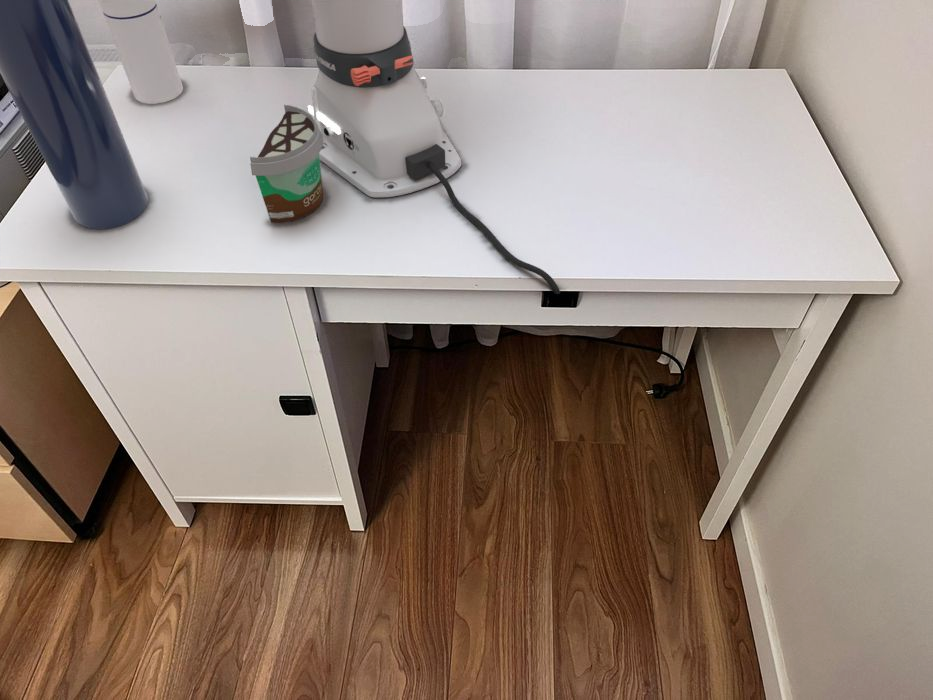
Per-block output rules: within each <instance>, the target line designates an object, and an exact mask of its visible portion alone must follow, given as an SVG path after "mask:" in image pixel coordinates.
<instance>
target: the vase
mask: <svg viewBox="0 0 933 700" xmlns="http://www.w3.org/2000/svg"><path fill="white" fill-rule="evenodd" d="M0 76H1V78H2V80H3V82H4V83H5V85H6V87H7V90H8V91H9V93H10V95H11V97H12V99H13V102H14V103H15V105H16V107H17V110H18V111H19V113H20V115H21V118H22V119H23V121H24V123H25V125H26V126H27V129H28V131H29V133H30V135H31V136H32V138H33V141H34V142H35V145H36V147H37V148H38V151H39V152H40V155H41V156H42V158H43V160H44V162H45V164H46V166H47V168H48V170H49V172H50V174H51V176H52V178H53V179H54V182H55V183H56V186H57V188H58V190H59V192H60V193H61V195H62V197H63V199H64V202H65V203H66V206H67V207H68V209H69V211H70V214H71V216H72V217H73V220H75V222H76V223H77V224H78V225H80V226H82V227H84V228H87V229H91V230H92V229H93V230H107V229H108V230H109V229H114V228H117V227H121V226H123V225H125V224H128V223H130V222H132V221H134V220H135V219H137V218H138V217H139V216H140V215H141V214H143V212H145V210H146V208H147V206H148V203H149V197H148V194H147V191H146V189H145V187H144V184H143V181H142V179H141V177H140V175H139V172H138V169H137V167H136V164H135V162H134V159H133V156H132V154H131V152H130V150H129V147H128V145H127V141H126V139H125V137H124V134H123V132H122V130H121V127H120V124H119V122H118V120H117V118H116V115H115V112H114V110H113V108H112V104H111V103H110V99H109V98H108V97H109V96H108V95H107V93H106V90H105V87H104V84H103V83H102V80H101V78H100V74H99V72H98V71H97V67H96V66H95V62H94V60H93V58H92V55H91V52H90V50H89V48H88V45H87V43H86V41H85V38H84V36H83V33H82V31H81V28H80V26H79V23H78V21H77V18H76V16H75V13H74V11H73V8H72V6H71V3H70V1H69V0H0Z"/></svg>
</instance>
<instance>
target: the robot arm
mask: <svg viewBox="0 0 933 700" xmlns="http://www.w3.org/2000/svg"><path fill="white" fill-rule="evenodd" d="M310 5H311V11H312V17H313V23H314V30H315V32H314V35H313V52H314V56H315V60H316V65H317V67H318V69H319V70H318V74H317V77H316V80H315V82H314V84H313V85H312V88H311V91H310V92H311V93H310V94H311V102H312V106H311V105H307V108H308V113H309V114H310V115H311V116H313V119H314V120H315V121H316V123H317V125H318V127H319V129H320V132H321V134H322V136H323V146H322V149H321V151H320V152H319V158H320V162H322V163H323V164H325V165H326V166H327V167H328V168H330V169H331V170H333V171H334V172H335V173H336V174H338V175H339V176H340V177H342V178H343V179H344V180H346V181H347V182H348V183H350V184H351V185H353V186H354V187H355V188H357V189H358V190H359V191H360V192H362V193H363V194H365V195H366V196H368V197H370V198H392V197H397V196H403V195H408V194H411V193H415V192H418V191H421V190H424V189H426V188H428V187H429V188H430V187H431V186H433V185H436V184H439V183H441V184H442V186H443V187H444V189H445V191H446V194H447V195H448V197H449V200H450V201H451V204H453V206H454V207H455V208H456V209H457V210H458V211H459V212H460V214H461V215H463V216H464V217H465V218H466V219H468V220H469V221H470V222H471V223H473V224H474V225H475V226H476V227H477V228H478V229H479V230H480V231H481V232H482V233H483V234H484V235H485V236H486V237H487V238H488V240H489V241H490V242H491V243H492V245H493V246H494V247H495V249H497V251H498V252H499V253H500V254H502V256H503V257H505V258H506V259H507V260H508V261H509V262H511V263H512V264H514V265H515V266H517V267H519V268H521V269H523V270H525V271H528V272H531V273H533V274H536V275H538V276H539V277H541V278H542V279H543V280H544V281H545V282H546V283H547V284H548V286H549V287H550V288H551V290H552V293H554V294H555V295H560V294H561V289H560V288H559V285H558V284H557V283H556V281H555V280H554V279H553V277H552V276H551V275H550V274H549V273H547V272H546V270H543V269H542V268H540V267H538V266H535V265H533V264H531V263H528V262H525V261H523V260H521V259H519V258H518V257H516V256H515V255H513V254H512V253H511V252H510V251H509V250H508V249H506V247H505V246H504V245H503V244H502V243H501V242H500V240H498V238H497V237H496V236H495V234H494V233H493V232H492V231H491V229H489V227H487V226H486V225H485V224H484V223H483V222H482V221H481V220H480V219H479V218H477V217H476V216H475V215H474V214H473V213H471V212H470V211H469V210H468V209H466V208H465V207H464V205H462V203H461V202H460V201H459V199H458V198H457V196H456V194H455V192H454V190H453V188H452V186H451V184H450V183H449V181H448V180H447V179H448V178H450V177H452V176H453V175H454V174H455V173H456V172H457V171H458V170H459V169H460V168H461V167H462V160H461V157H460V155H459V154H458V152H457V149H456V148H455V147H454V145H453V143H452V142H451V140H450V139H449V137H448V135H447V134H446V132H445V131H444V129H443V127H442V126H441V121H440V117H442V116H443V115H444V107H443V103H442V101H441V99H439V98H433V99H430V96H429V94H428V93H427V90H426V89H427V87H428V84H427V80H426V77H424V76H422V77H421V78H420V75H419V74H418V72H417V70H416V68H415V66H414V56H413V53H412V45H411V41H410V38H409V35H408V32H407V29H406V27H405V25H404V11H403V10H404V9H403V8H404V5H403V0H310Z"/></svg>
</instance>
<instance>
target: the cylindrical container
mask: <svg viewBox="0 0 933 700" xmlns="http://www.w3.org/2000/svg"><path fill="white" fill-rule="evenodd" d="M98 3H99V6H100V8H101V11H102V14H103V16H104V19H105V22H106V24H107V27H108V31H109V32H110V35H111V38H112V41H113V43H114V46H115V48H116V51H117V54H118V57H119V60H120V62H121V65H122V67H123V70H124V72H125V75H126V78H127V80H128V84H129V86H130V88H131V91H132V94H133V97H134V99H135V100H136V101H138V102H140V103H142V104H146V105H147V104H149V105H153V104H154V105H156V104H162V103H166V102H169V101H172V100H174V99H176V98H178V97H179V96H180V95H181V93H183V90H184V86H183V82H182V80H181V77H180V73H179V70H178V67H177V63H176V61H175V57H174V55H173V50H172V48H171V45H170V42H169V39H168V35H167V32H166V28H165V26H164V22H163V19H162V16H161V14H160V10H159V6H158V4H157V1H156V0H98Z"/></svg>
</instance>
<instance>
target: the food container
mask: <svg viewBox="0 0 933 700" xmlns="http://www.w3.org/2000/svg"><path fill="white" fill-rule="evenodd" d="M283 108H284V114H283V116H282V118H281V120H280V121H279V123H278V124H277V125H276V126H275V127H274V128H273V129H272V131H271V132H270V133H269V135H268V137H267V139H266V141H265V143H264V145H263V147H262V149H261V151H260V152H259V154H258V155H257V156H250V157H249V159H250V164H249V165H250V171H251V176H255V178H256V182H257V185H258V187H259V190H260V193H261V196H262V199H263V202H264V206H265V208H266V211H267V214H268V218H269V220H270V223H276V224H282V223H283V224H284V223H292V222H296V221H299V220H302V219H305V218H307V217H308V216H310V215H312V214H314V213H315V212H316V211H317V210H318V209H320V207H321V205H322V203H323V201H324V193H323V180H322V169H321V160H320V158H319V152H320V151H321V149H322V146H323V136H322V134H321V132H320V129H319V127H318V125H317V123H316V121H315V120H314V116H313V115H312V114H311V113H310V112H309V111H306V110H305V109H302V108H300V107H297V106H293V105H289V104H283Z"/></svg>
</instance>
